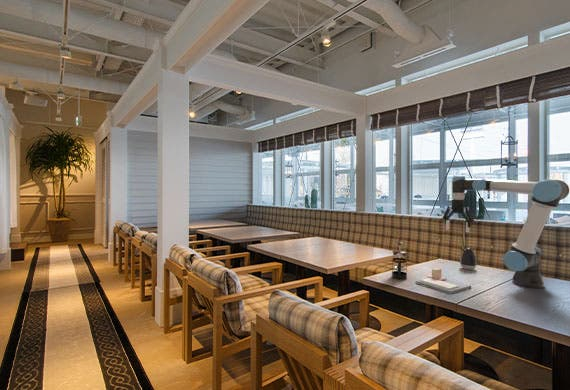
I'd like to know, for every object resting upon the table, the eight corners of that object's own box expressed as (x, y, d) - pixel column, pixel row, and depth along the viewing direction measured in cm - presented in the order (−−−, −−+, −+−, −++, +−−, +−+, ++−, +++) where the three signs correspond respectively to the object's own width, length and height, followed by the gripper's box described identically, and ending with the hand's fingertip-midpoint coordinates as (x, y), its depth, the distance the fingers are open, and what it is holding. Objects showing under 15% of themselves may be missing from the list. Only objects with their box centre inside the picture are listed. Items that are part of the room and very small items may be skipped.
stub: (446, 279, 197) (446, 270, 196) (440, 280, 194) (440, 271, 193) (432, 275, 204) (433, 266, 204) (427, 277, 201) (427, 267, 201)
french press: (407, 281, 199) (408, 244, 198) (391, 279, 202) (391, 243, 201) (406, 276, 210) (407, 240, 209) (391, 274, 213) (392, 240, 212)
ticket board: (471, 288, 186) (471, 284, 186) (450, 294, 176) (450, 289, 175) (436, 278, 205) (436, 274, 205) (415, 283, 194) (415, 279, 194)
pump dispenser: (456, 267, 233) (456, 246, 232) (469, 267, 234) (470, 246, 234) (465, 271, 223) (466, 249, 222) (479, 270, 224) (480, 249, 223)
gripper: (437, 198, 223) (436, 229, 224) (474, 200, 202) (473, 233, 202) (443, 198, 227) (443, 228, 228) (480, 199, 206) (479, 233, 206)
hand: (457, 231), depth 215 cm, fingers open, 13 cm apart
